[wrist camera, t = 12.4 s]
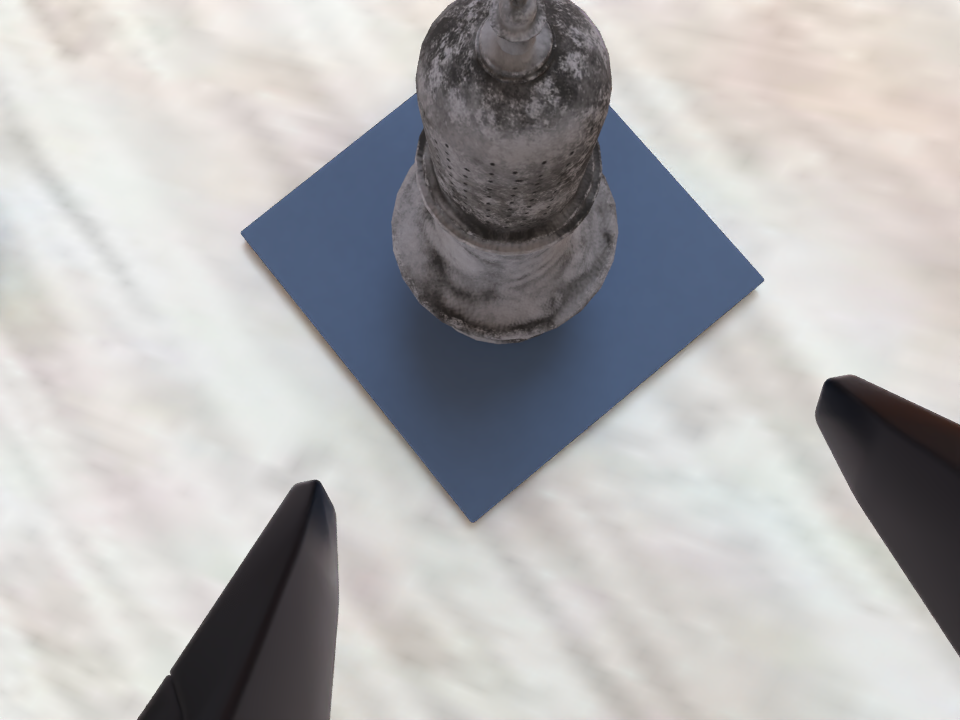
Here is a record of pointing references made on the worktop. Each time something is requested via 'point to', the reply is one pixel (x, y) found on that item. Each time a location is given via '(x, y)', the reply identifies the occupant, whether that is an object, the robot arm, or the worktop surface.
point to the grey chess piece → (508, 170)
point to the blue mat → (487, 366)
